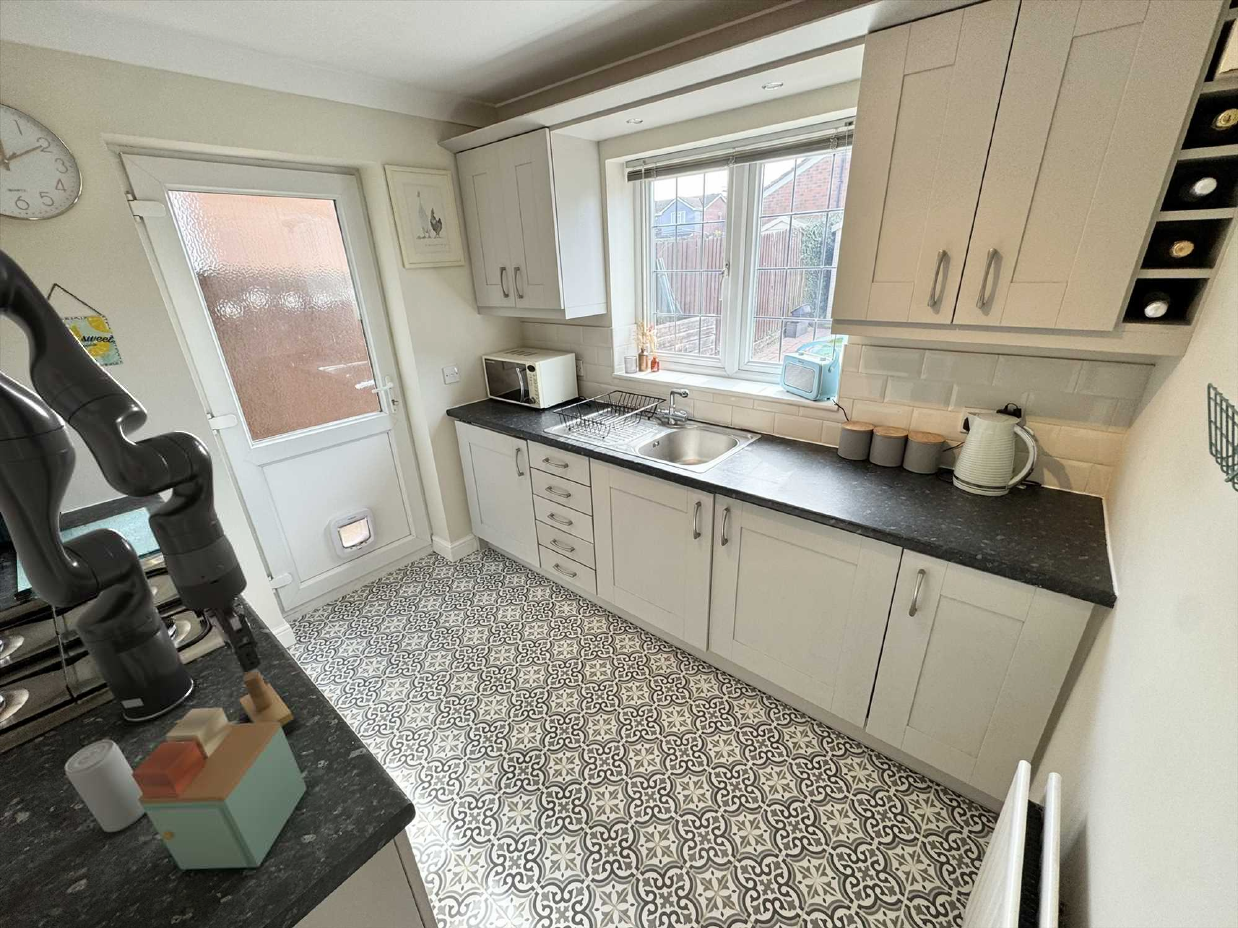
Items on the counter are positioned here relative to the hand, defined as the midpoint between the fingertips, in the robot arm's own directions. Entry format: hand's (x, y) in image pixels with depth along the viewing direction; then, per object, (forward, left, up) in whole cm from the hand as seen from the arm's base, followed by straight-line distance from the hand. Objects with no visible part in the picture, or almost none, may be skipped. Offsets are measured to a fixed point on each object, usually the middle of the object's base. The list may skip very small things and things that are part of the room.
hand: (243, 656), depth 76 cm
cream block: (+15, -6, -1) cm, 16 cm away
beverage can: (+4, -18, -14) cm, 23 cm away
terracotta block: (+18, -9, -1) cm, 21 cm away
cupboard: (+18, -6, -14) cm, 23 cm away
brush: (0, 0, -14) cm, 14 cm away
